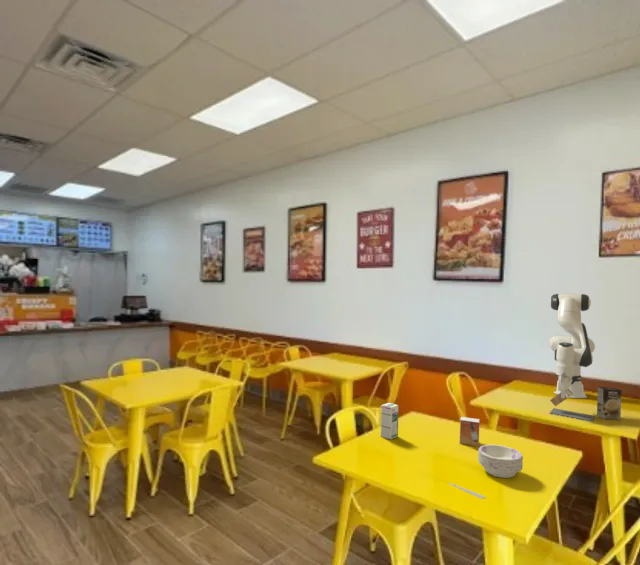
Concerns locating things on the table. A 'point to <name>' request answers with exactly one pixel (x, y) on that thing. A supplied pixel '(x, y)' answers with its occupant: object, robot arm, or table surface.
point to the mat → (572, 414)
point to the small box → (469, 431)
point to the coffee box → (609, 403)
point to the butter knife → (469, 491)
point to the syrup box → (389, 420)
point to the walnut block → (558, 399)
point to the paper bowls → (500, 460)
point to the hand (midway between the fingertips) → (564, 396)
